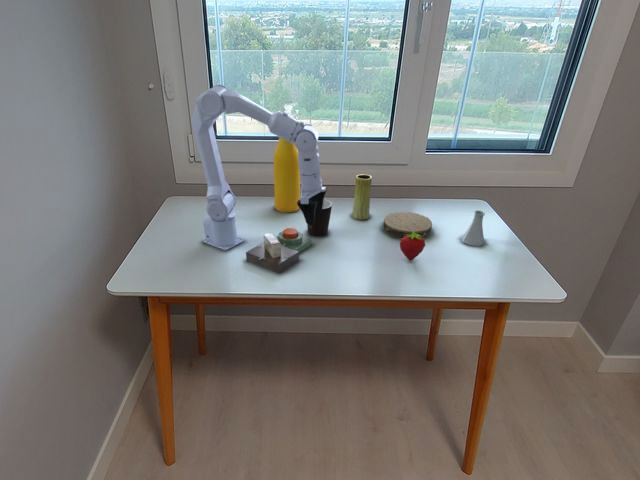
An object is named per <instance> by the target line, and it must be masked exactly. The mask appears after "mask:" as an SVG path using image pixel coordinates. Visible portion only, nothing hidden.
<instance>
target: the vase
mask: <svg viewBox="0 0 640 480" xmlns="http://www.w3.org/2000/svg"><path fill="white" fill-rule="evenodd" d="M372 181H373V177H372V175H370V174H366V173H365V174H364V173H363V174H357V175H356V176H355V187H354V197H353V204H352V205H353V206H352V213H351V216H352V218H353V219H356V220H367V219H369V218H370V208H371V207H370V205H371V191H372V190H371V189H372Z"/></svg>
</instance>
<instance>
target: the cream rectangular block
mask: <svg viewBox="0 0 640 480" xmlns="http://www.w3.org/2000/svg"><path fill="white" fill-rule="evenodd" d="M275 237H276V236H275V235H274V234H273V233H271V232H270V233H269V232H268V233H264V234H263V242H264V247H265V248H266V250H267V251H268V252H269V253H270V255H271V256H272V257H273V258H277V257H281V244H280V242H279V241H278V240H277V239H276V238H275Z"/></svg>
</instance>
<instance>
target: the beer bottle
mask: <svg viewBox="0 0 640 480" xmlns="http://www.w3.org/2000/svg"><path fill="white" fill-rule="evenodd" d="M273 185H274V187H273V188H274V207H275V209H276V211H278V212H280V213H294V212H297V211H299V209H300V208H299V206H298V205H297V201H298V200H301V199H300V197H301V180H300V170H299V161H298V149H297V148H296V147H295V144H294V143H290V142H288V141H286V140H284V139H283V138H281V137H279V136H278V143H277V146H276V148H275V151H274V153H273Z"/></svg>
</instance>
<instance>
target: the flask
mask: <svg viewBox="0 0 640 480" xmlns="http://www.w3.org/2000/svg"><path fill="white" fill-rule="evenodd" d="M473 213H474V216H473V219H472V221H471V223H470V225H469V226H468V228H467V230H466V231H465V232H464V234H463V235H462V236H461V242H462V243H463V244H466V245H469V246H475V247H476V246H477V247H478V246H479V247H481V246H482V245H484V244H485V237H484V229H483V219H484V216H485V215H486V213H485V211H483V210H474V212H473Z"/></svg>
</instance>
